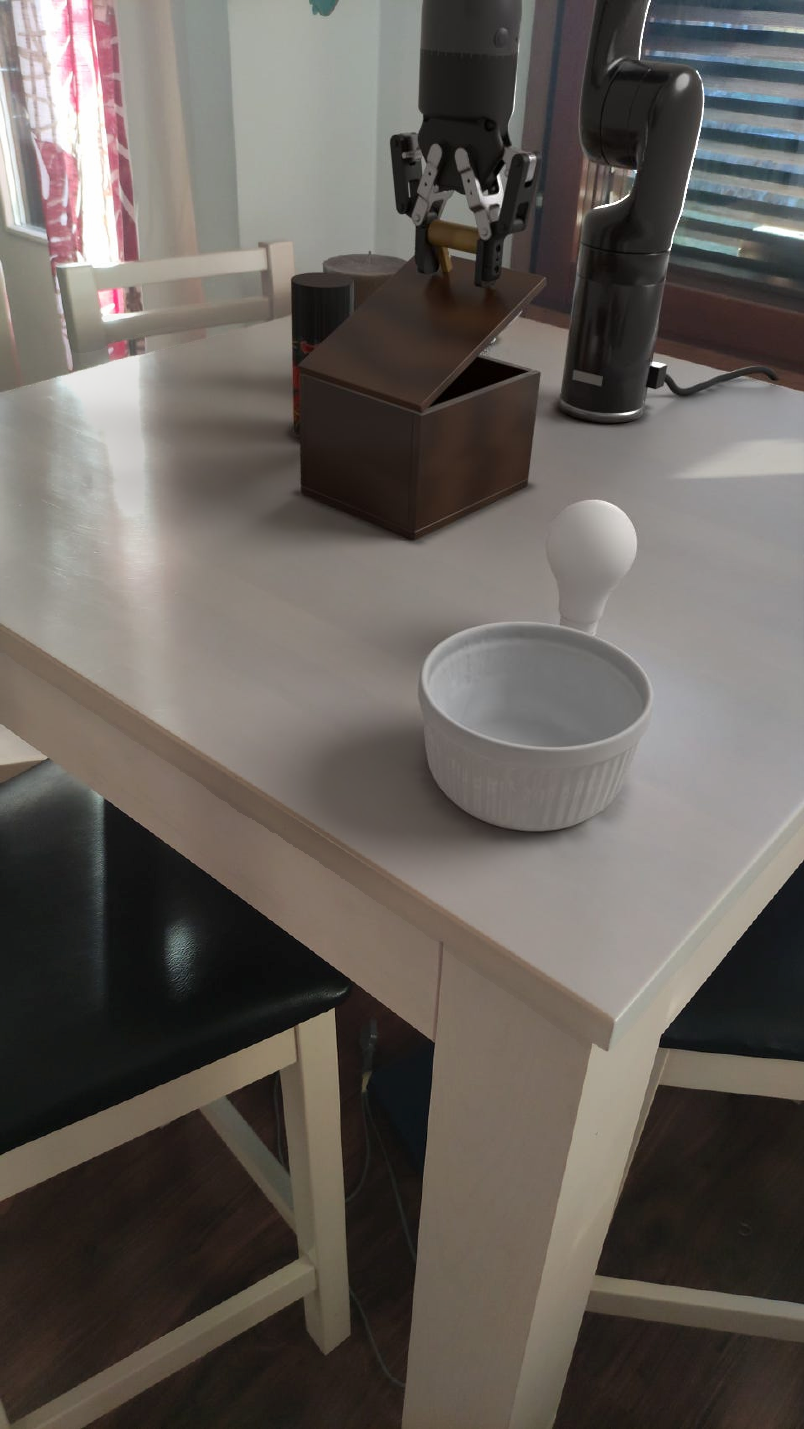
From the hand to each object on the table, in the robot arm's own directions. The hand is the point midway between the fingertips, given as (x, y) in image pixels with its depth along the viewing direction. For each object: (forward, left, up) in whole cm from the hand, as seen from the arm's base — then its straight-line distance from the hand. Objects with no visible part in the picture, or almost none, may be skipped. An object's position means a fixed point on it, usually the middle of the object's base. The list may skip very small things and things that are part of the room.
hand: (455, 278), depth 90 cm
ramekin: (+32, +32, -18) cm, 49 cm away
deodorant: (0, -16, -18) cm, 24 cm away
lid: (+4, 0, -3) cm, 5 cm away
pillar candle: (-13, -22, -18) cm, 31 cm away
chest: (+4, 0, -18) cm, 18 cm away
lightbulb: (+17, +26, -18) cm, 36 cm away
